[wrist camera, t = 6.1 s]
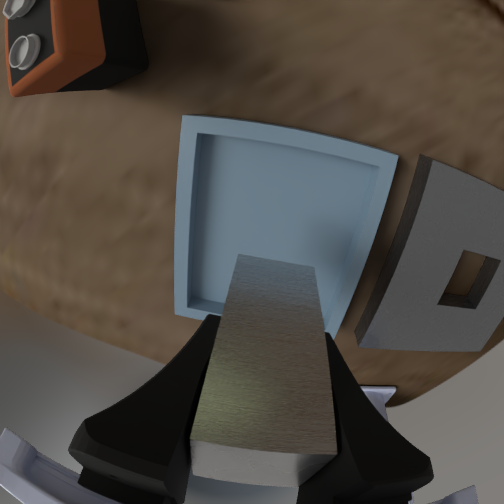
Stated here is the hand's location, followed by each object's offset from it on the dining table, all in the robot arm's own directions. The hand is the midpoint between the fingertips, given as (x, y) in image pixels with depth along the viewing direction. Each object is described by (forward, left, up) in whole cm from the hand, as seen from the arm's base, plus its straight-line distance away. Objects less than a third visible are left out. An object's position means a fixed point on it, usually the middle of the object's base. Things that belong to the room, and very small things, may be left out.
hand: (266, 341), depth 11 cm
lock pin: (0, 0, -3) cm, 3 cm away
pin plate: (0, -17, -10) cm, 20 cm away
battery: (+13, +13, -11) cm, 21 cm away
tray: (0, 0, -10) cm, 10 cm away
